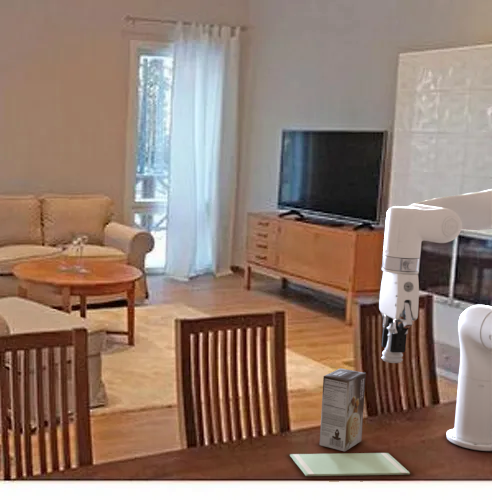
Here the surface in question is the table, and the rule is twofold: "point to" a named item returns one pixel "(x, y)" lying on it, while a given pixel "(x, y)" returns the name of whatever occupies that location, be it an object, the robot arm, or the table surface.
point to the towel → (348, 464)
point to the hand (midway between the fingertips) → (393, 348)
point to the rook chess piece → (387, 355)
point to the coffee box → (342, 409)
